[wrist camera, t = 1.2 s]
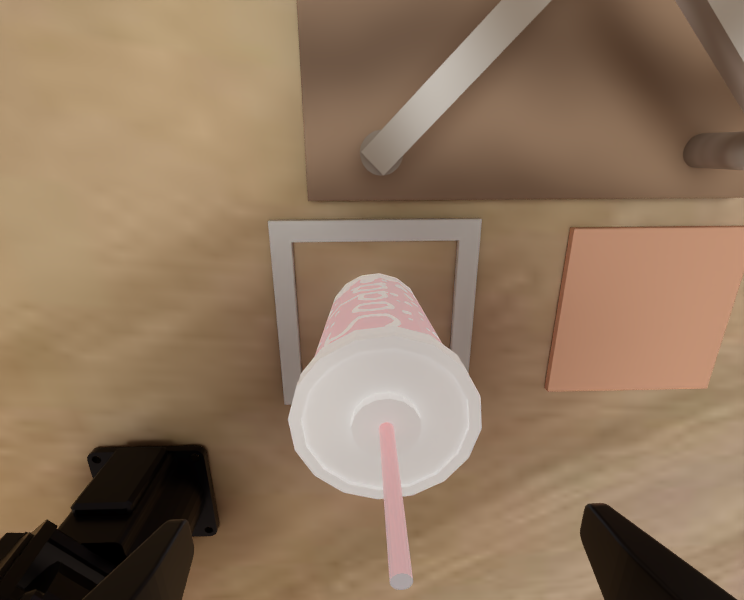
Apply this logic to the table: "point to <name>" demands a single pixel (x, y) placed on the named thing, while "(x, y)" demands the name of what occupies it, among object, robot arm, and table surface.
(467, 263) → the frame
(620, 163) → the wire board
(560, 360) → the end mat
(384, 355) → the beverage cup
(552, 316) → the table surface
